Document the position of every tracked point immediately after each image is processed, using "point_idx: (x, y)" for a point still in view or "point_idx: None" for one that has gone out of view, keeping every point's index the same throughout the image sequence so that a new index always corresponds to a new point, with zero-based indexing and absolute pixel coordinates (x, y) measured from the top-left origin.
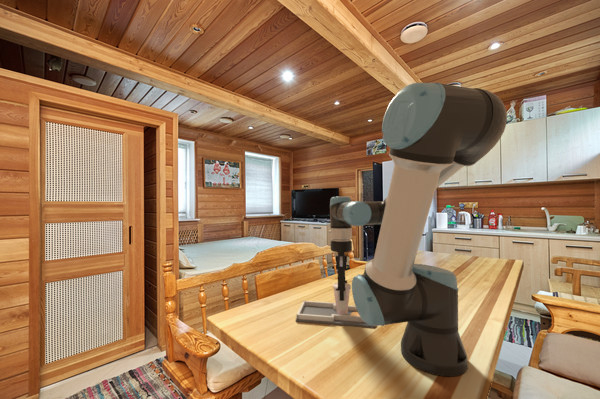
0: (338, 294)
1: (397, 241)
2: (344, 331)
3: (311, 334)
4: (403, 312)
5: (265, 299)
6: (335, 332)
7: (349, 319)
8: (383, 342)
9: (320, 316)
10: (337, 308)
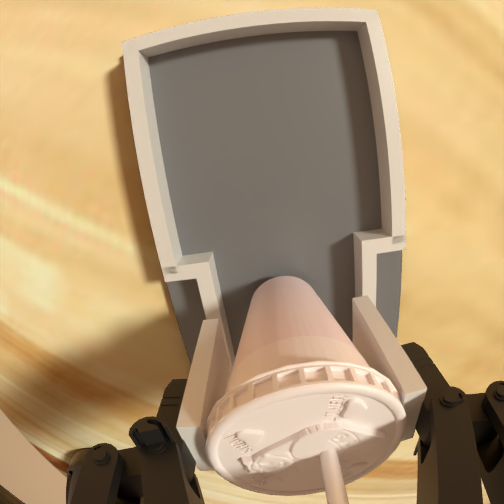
0: (187, 400)
1: None
2: (126, 324)
3: (41, 189)
4: None
5: None
6: (99, 289)
7: None
8: (129, 429)
9: (145, 198)
10: (255, 302)
